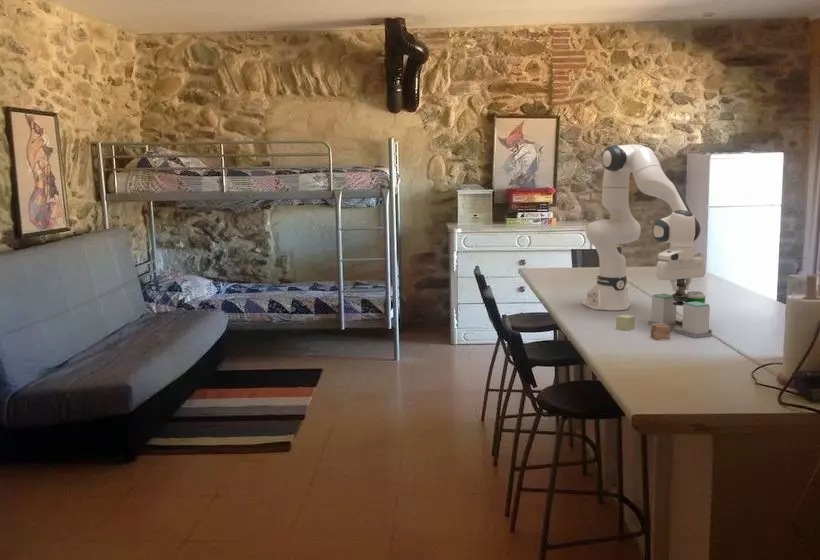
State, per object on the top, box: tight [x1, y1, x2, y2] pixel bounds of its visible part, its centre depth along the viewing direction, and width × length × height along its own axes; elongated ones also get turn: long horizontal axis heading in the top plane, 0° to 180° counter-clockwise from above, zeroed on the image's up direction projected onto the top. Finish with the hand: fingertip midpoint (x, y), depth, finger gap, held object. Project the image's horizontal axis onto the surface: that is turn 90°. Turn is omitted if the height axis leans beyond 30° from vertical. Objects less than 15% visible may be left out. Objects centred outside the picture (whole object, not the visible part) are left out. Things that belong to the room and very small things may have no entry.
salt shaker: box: [671, 279, 689, 307], centre depth 285 cm, size 6×6×12 cm
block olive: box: [615, 314, 636, 332], centre depth 291 cm, size 5×5×5 cm
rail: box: [647, 319, 713, 339], centre depth 288 cm, size 26×8×2 cm, turn 20°
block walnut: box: [650, 323, 671, 341], centre depth 275 cm, size 5×5×5 cm
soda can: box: [684, 290, 706, 304], centre depth 299 cm, size 8×8×12 cm
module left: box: [650, 293, 677, 324], centre depth 295 cm, size 7×6×11 cm
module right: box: [682, 301, 711, 334], centre depth 278 cm, size 7×6×11 cm
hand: (680, 290), depth 285 cm, fingers closed on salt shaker, 3 cm apart
